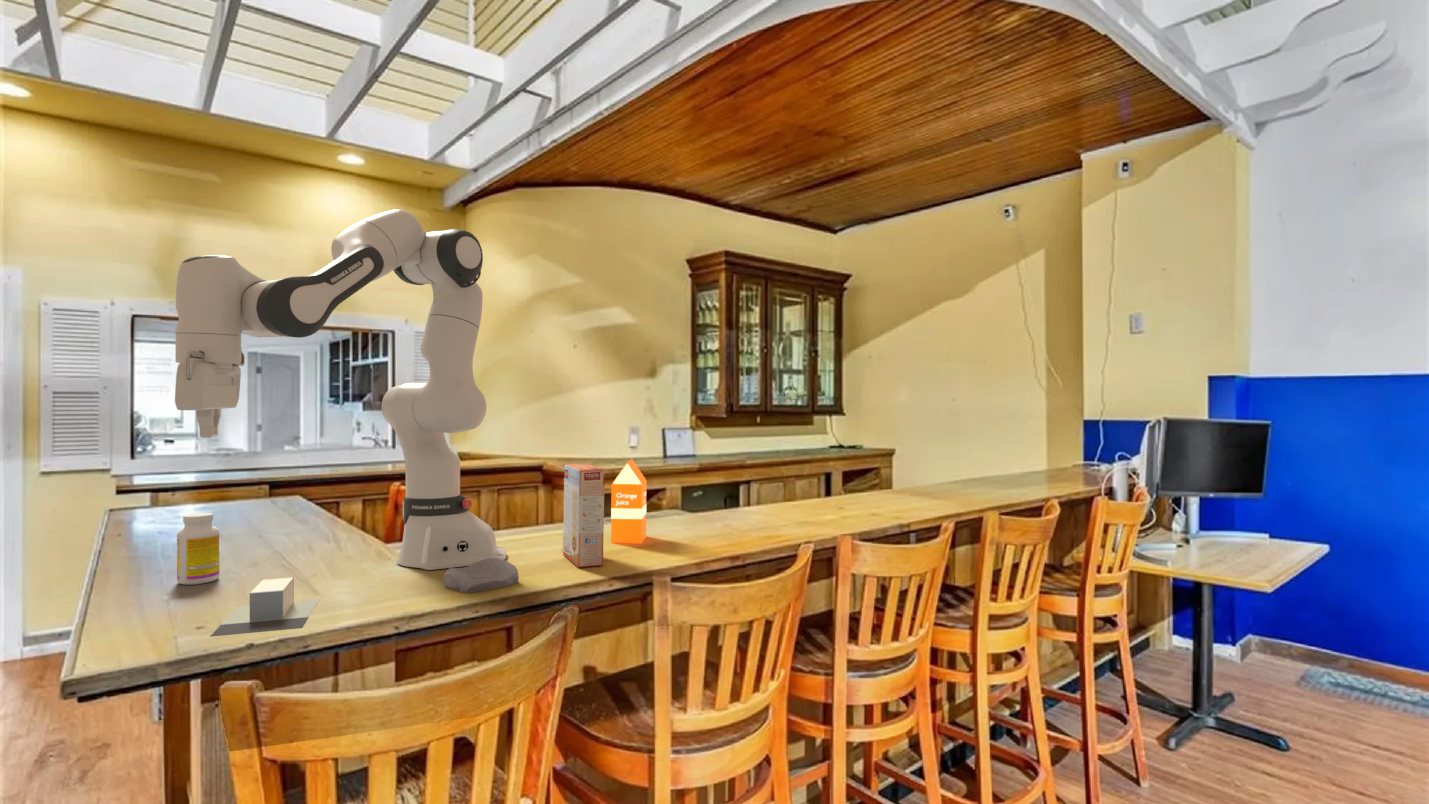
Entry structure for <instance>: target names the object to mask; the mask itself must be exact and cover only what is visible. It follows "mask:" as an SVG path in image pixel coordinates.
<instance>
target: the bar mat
mask: <svg viewBox="0 0 1429 804" xmlns="http://www.w3.org/2000/svg"><path fill="white" fill-rule="evenodd" d="M319 601H320V599H308V600H307V599H305V600H294V604H293V605H292V606H291V608H290V609H289V610H288V612H287V613H286V615H285V616H284V617H283V619H276V620H264V621H253V622H250V604H245V605H239V606H238V607H237V608H235V610H234V611H233V612H232V613H231V614H229V616H228V617H227V618H226V619H225V620H224V621H223V622H222V623H221V624H220V625H219V626H218V628H216V629H215V630H214V631H213V633H211V634H210V637H218V636H229V635H230V636H231V635H240V634H241V635H242V634H250V633H251V634H252V633H261V632H271V631H272V632H273V631H274V632H275V631H284V630H295V629H302V628H303V627H304V626H305V625H306V622H307V621H308V620H309V618H310V616H311V614H312V612H313V611H314V609H315V608H316V606H317V604H318V603H319Z"/></svg>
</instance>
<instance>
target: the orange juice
mask: <svg viewBox="0 0 1429 804" xmlns="http://www.w3.org/2000/svg"><path fill="white" fill-rule="evenodd" d="M647 481H648V480H647V479H646V478H645V476H644V475H643V473H642V472H641V470H640V468H639V467H638V465H637V464H636V462H635V461H634V460H633V458H631V459H629V460H628V461H627V462H626V463H625V465H624V466H623V468H622V469H621V470H620V472H619V474H618V475H617V476H616V478H615V479H614V480H613V482H612V483H611V502H610V503H611V505H610V507H611V508H610V511H611V515H610V518H611V521H610V524H611V526H610V528H611V529H610V530H611V531H610V533H611V534H610V537H611V538H610V539H611V540H610V543H611V544H642V543H643V541H644V540H645V538H646V537H647Z"/></svg>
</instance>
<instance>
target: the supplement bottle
mask: <svg viewBox="0 0 1429 804" xmlns="http://www.w3.org/2000/svg"><path fill="white" fill-rule="evenodd" d="M182 517H183V518H182V522H183V524H184V527H183V528H181V529H179V530H178V531H177V534H176V559H177V560H176V580H177V582H178V584H180V585H185V586H189V585H190V586H191V585H192V586H193V585H202V584H206V583H211V582H214V581H216V580H218V579H219V578H220V529H219V528H218V527H217V526H215V525H213V524H212V522H213V521H214V514H213V512H195V513H189V514H184V515H183V516H182Z"/></svg>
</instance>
